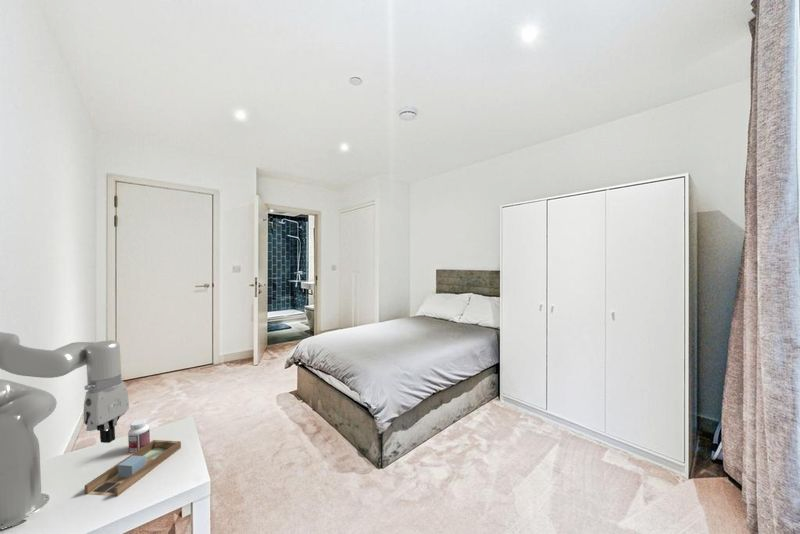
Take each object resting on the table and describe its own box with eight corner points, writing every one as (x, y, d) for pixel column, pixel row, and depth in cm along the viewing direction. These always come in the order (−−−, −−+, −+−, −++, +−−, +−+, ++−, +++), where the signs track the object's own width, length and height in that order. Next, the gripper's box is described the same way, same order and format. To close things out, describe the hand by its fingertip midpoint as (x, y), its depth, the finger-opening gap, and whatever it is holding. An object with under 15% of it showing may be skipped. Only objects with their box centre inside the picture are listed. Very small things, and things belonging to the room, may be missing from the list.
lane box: (84, 496, 95) (84, 485, 95) (154, 448, 119) (153, 439, 119) (117, 499, 94) (117, 488, 94) (181, 450, 118) (180, 441, 118)
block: (118, 477, 102) (117, 465, 102) (132, 466, 107) (132, 455, 107) (132, 478, 102) (131, 466, 102) (146, 467, 107) (145, 456, 107)
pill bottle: (150, 443, 122) (149, 416, 122) (150, 451, 118) (149, 422, 117) (129, 450, 119) (128, 421, 118) (128, 458, 114) (127, 428, 113)
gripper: (89, 393, 88) (92, 457, 89) (138, 373, 103) (141, 428, 103) (65, 392, 89) (69, 456, 89) (118, 372, 104) (120, 427, 104)
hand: (107, 441), depth 96 cm, fingers closed
